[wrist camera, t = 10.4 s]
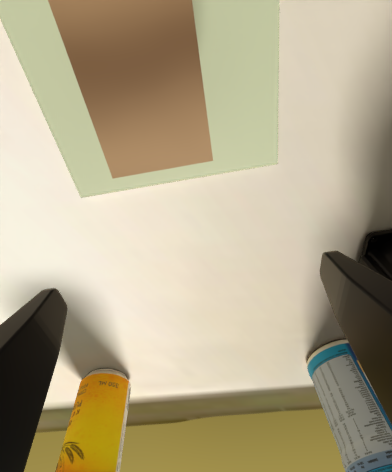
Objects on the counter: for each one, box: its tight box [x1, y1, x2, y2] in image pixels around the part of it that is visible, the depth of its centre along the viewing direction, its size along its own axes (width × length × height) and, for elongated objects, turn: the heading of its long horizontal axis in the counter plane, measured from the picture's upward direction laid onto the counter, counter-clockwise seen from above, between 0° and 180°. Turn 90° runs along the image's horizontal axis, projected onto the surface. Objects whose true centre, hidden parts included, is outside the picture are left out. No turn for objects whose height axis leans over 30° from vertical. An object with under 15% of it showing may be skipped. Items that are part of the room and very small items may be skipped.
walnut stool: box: [48, 0, 213, 179], centre depth 13 cm, size 7×4×6 cm, turn 9°
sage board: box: [0, 0, 279, 198], centre depth 16 cm, size 14×14×1 cm
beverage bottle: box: [307, 339, 392, 472], centre depth 27 cm, size 8×8×20 cm
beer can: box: [55, 369, 131, 472], centre depth 29 cm, size 6×6×15 cm
